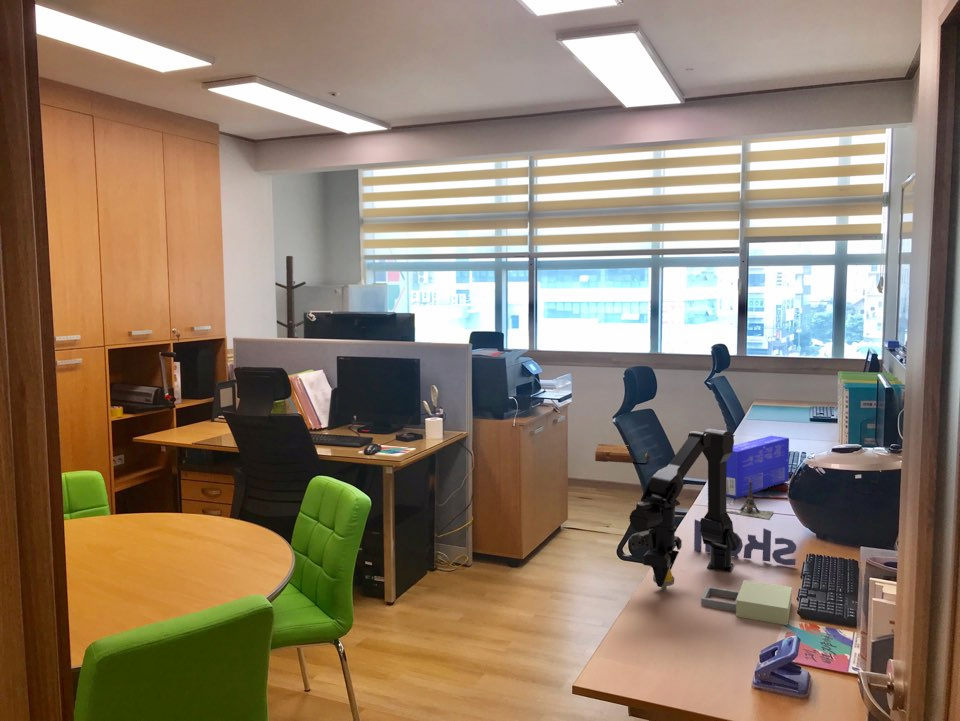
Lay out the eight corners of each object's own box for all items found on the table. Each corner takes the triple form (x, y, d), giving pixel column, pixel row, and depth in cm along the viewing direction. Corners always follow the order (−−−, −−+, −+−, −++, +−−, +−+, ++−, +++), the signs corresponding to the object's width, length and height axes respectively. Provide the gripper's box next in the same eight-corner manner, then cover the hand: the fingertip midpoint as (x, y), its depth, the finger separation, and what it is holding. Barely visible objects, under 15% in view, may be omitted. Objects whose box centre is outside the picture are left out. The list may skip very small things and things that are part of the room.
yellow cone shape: (669, 585, 197) (673, 550, 195) (675, 596, 192) (679, 560, 189) (649, 585, 197) (653, 550, 195) (655, 595, 191) (658, 559, 189)
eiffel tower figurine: (724, 514, 263) (724, 477, 262) (730, 507, 272) (731, 471, 271) (769, 520, 256) (770, 482, 254) (773, 512, 264) (774, 475, 263)
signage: (795, 566, 211) (796, 532, 210) (795, 567, 211) (796, 533, 210) (694, 551, 224) (695, 518, 223) (693, 552, 224) (694, 519, 223)
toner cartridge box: (770, 478, 312) (771, 435, 310) (789, 482, 305) (790, 437, 303) (717, 494, 287) (718, 447, 285) (736, 499, 281) (737, 451, 279)
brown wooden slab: (595, 464, 341) (595, 452, 341) (598, 456, 359) (598, 444, 359) (646, 466, 336) (646, 454, 335) (647, 458, 354) (647, 446, 353)
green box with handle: (708, 589, 195) (709, 574, 194) (791, 602, 186) (791, 587, 186) (699, 609, 182) (699, 593, 182) (787, 625, 173) (787, 608, 173)
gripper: (641, 511, 204) (640, 566, 206) (623, 529, 188) (622, 590, 189) (682, 516, 199) (681, 573, 201) (667, 535, 183) (666, 597, 184)
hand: (662, 582), depth 194 cm, fingers closed on yellow cone shape, 5 cm apart
